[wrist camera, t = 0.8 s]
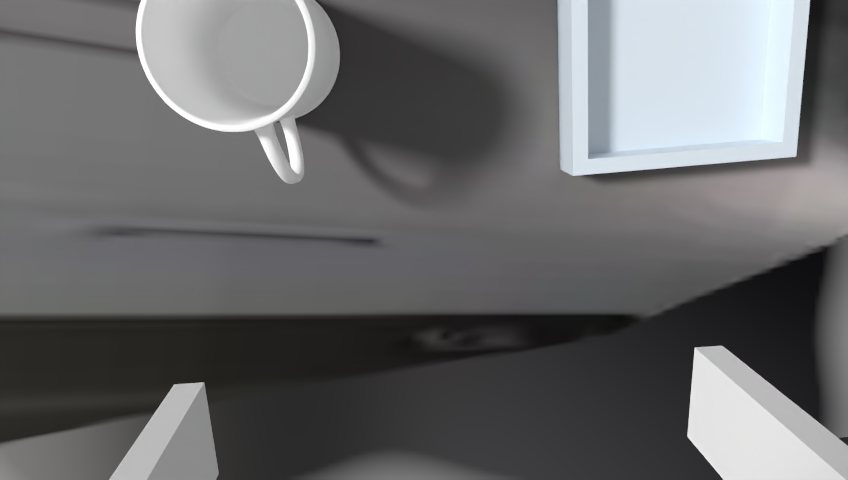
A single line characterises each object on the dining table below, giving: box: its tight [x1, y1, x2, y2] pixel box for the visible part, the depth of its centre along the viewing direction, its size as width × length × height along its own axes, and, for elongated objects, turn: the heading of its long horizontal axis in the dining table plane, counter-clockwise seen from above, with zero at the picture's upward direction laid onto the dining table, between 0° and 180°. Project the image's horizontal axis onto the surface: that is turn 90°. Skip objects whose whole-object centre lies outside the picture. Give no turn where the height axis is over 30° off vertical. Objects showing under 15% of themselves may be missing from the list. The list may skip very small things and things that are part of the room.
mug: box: [136, 0, 340, 184], centre depth 33 cm, size 12×8×12 cm
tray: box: [558, 0, 810, 176], centre depth 39 cm, size 15×15×3 cm
